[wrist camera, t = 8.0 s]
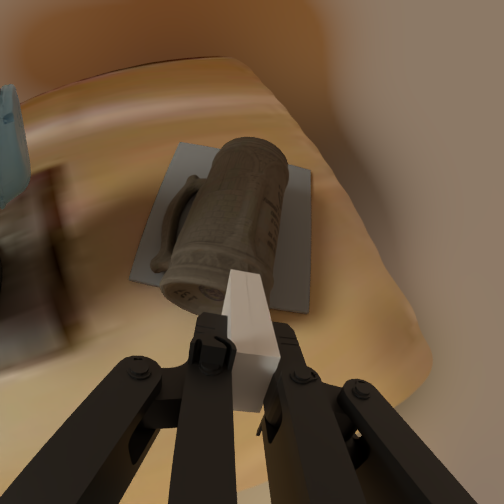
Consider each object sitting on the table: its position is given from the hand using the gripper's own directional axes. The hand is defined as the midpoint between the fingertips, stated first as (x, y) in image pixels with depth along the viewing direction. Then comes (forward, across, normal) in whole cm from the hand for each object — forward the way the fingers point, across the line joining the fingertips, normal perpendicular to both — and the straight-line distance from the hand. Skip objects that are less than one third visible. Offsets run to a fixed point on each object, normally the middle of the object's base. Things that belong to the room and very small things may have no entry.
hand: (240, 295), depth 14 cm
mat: (+25, 0, 0) cm, 25 cm away
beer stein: (+11, -3, -7) cm, 13 cm away
